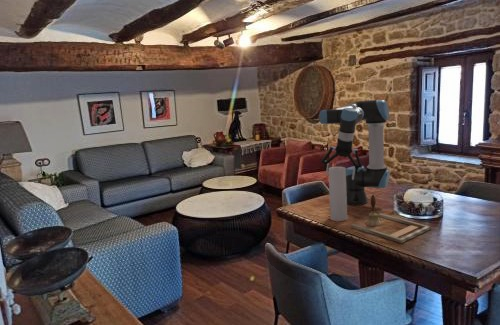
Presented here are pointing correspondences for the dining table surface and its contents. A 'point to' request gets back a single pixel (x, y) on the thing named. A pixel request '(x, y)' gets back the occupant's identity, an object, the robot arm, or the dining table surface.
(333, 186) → the cylinder container
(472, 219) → the dining table surface
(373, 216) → the hand bell
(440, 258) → the dining table surface
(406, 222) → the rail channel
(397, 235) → the tan wooden strip
